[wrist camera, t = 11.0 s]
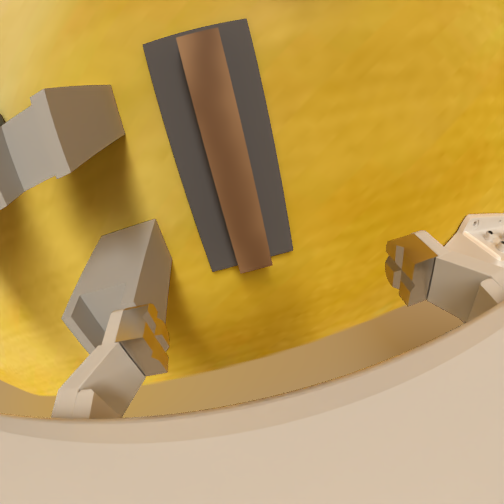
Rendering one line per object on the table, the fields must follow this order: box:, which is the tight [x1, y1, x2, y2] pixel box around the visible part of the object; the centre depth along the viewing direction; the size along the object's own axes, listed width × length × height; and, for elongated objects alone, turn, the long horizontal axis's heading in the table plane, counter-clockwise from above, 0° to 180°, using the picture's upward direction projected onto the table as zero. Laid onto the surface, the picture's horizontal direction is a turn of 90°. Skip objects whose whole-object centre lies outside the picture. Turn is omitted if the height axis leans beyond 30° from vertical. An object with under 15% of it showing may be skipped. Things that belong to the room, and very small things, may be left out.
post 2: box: [61, 219, 172, 354], centre depth 24 cm, size 6×5×12 cm
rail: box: [176, 27, 272, 273], centre depth 24 cm, size 3×22×3 cm, turn 12°
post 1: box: [0, 85, 125, 210], centre depth 17 cm, size 6×5×12 cm
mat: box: [143, 19, 293, 272], centre depth 26 cm, size 9×24×1 cm, turn 12°
